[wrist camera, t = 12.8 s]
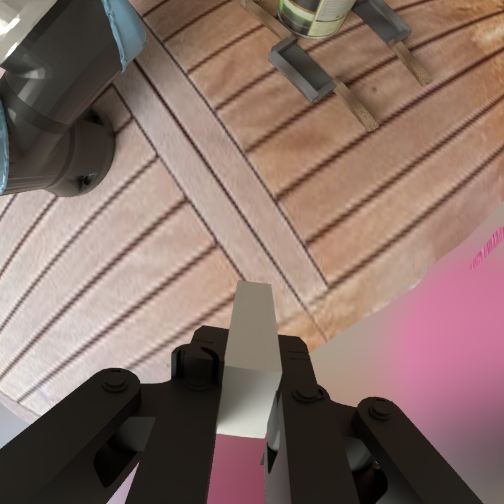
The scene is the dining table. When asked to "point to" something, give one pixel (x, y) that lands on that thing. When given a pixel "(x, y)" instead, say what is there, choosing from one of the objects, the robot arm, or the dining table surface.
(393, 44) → the box
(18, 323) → the dining table surface
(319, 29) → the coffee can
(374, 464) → the robot arm
